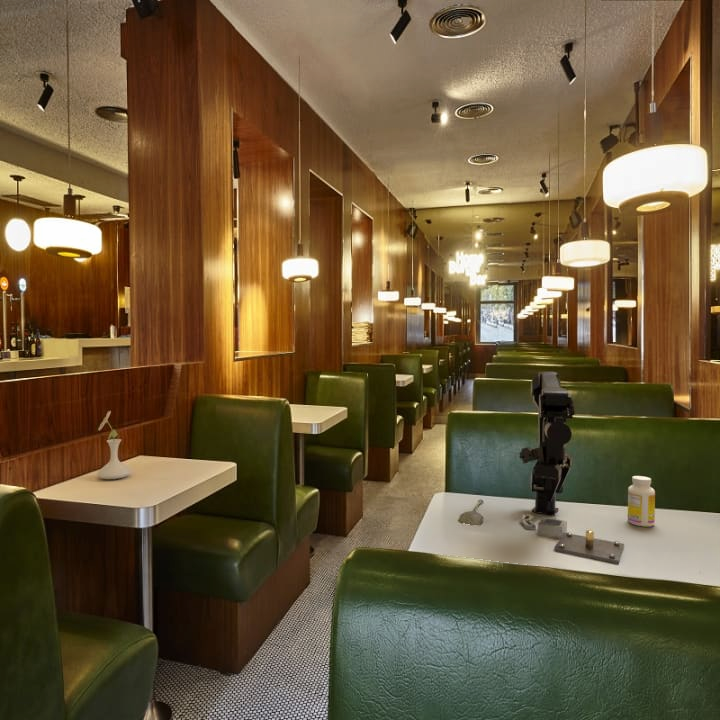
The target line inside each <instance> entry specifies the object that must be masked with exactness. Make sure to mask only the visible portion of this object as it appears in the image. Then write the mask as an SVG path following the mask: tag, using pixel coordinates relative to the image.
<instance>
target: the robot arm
mask: <svg viewBox="0 0 720 720" xmlns="http://www.w3.org/2000/svg"><path fill="white" fill-rule="evenodd" d="M561 383H562V380H561V379H560V378H558V372H555V371H541V372H538V375H537V376H536V377H534V378H533V379H531V384H530V397H532V403H533V404H534V406H535V407H536V409H537V412H538V415H537V416H538V419H537V420H538V421H537V422H538V445H537V446H532V447H529V446H527V447H522V448H521V451H519V459H520V460H521V461H522V463H523V464H527V463H529V462H534V461H536V462H535V464H534V465H533V468H532V470H531V473H530V480H529V481H530V490H531V492H535V499H534V504H535V505H534V507H533V508H532V509H531V513H537V514H543V515H549V516H556V514H557V512H558V511H559V508H558V507H556V494H562V493H563V492H564V483H565V481H566V479H567V476H568V475H569V472H570V471H571V468H572V466H573V457H572V455H571V454H569V453H566V447H567V446H568V443H569V442H570V440H571V439H572V431H571V428H570V426H569V425H568V424H567V419H568V420H571V419H573V418H574V417H573V416H575V407H574V405H575V404H574V400H573V399H572V396H571V394H570V395H569V392H568V390H567V389H566V388H563V387H562V384H561ZM566 464H567V465H566Z"/></svg>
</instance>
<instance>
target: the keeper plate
mask: <svg viewBox="0 0 720 720" xmlns="http://www.w3.org/2000/svg"><path fill="white" fill-rule="evenodd" d="M624 550H625V544H624V543H621V542H620V541H618V540H615V541H612V540H611V541H610V540H605V539H602V538H601V539H600V538H595V531H593V530H589V529H586V530H585V535H579V534H573V533H572V532H568V531H567V533H564V534H563V535H562V537H561V538H560V539H559V540H558V541H557V543H556V544H555V546H554V547H553V551H555V552H557V553H558V552H559V553H563V554H567V555H572V556H578V557H582V558H587V559H591V560H597V561H601V562H606V563H610V564H617V565H618V564H619V563H620V560H621V557H622V554H623V552H624Z"/></svg>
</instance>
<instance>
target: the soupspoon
mask: <svg viewBox="0 0 720 720" xmlns="http://www.w3.org/2000/svg"><path fill="white" fill-rule="evenodd" d="M484 502H485V501H484V500H483V499H481V498H479V499H478V500H477V503H476V504H475V506H474V508H473V509H472V510H471V511H465V512H463V513H461V514H460V515H459V519H458V521H459V522H460V523H461V522H462V523H465V524H470V525H469V526H473V525H477V526H480V525H482V524H483V522H484V521H483V520H484V517H483V514H481V513H479V512H477V509H478V507H479V505H483V504H484ZM482 503H483V504H482ZM462 523H461V524H462ZM465 524H464V525H465Z"/></svg>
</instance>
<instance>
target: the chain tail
mask: <svg viewBox="0 0 720 720" xmlns="http://www.w3.org/2000/svg"><path fill="white" fill-rule="evenodd" d="M533 521H534V515H531V514H525V513H524V514H523V515H522V517H521V518H520V523H521V525H522V526H523V528H524V529H525V530H536V529H537V528H536V527H537V525H536V524H535V523H534V522H533Z"/></svg>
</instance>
